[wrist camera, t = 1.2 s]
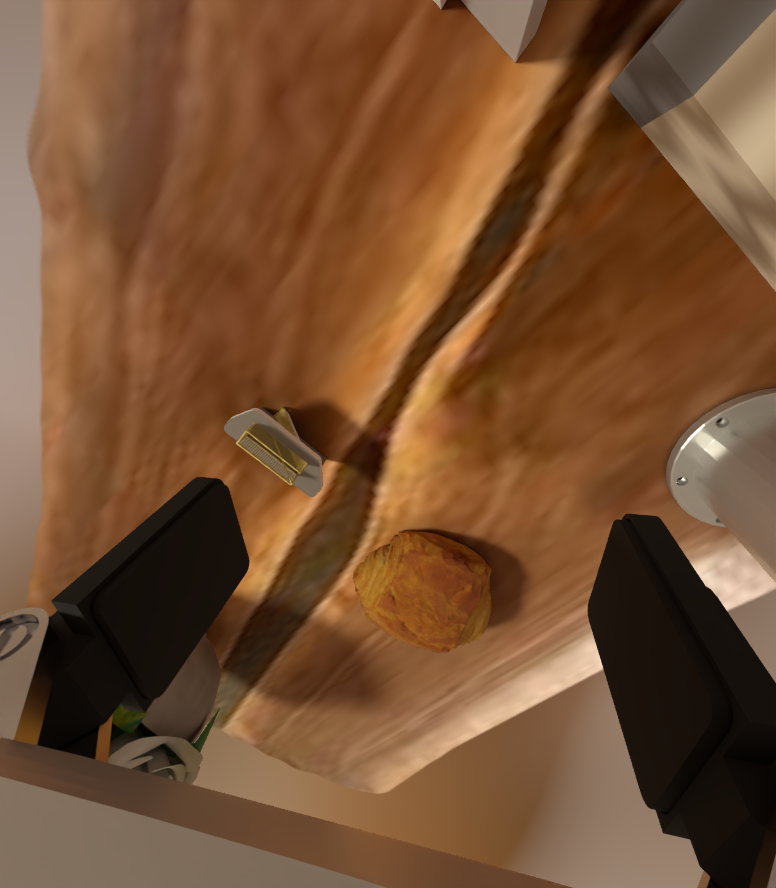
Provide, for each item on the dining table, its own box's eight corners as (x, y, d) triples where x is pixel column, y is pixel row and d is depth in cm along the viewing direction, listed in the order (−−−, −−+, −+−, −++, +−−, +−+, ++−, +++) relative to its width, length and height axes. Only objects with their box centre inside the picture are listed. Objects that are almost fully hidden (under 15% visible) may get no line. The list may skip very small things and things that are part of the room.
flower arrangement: (284, 670, 59) (183, 913, 38) (158, 666, 66) (14, 870, 45) (213, 552, 48) (17, 799, 27) (71, 562, 55) (-173, 766, 34)
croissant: (449, 616, 49) (454, 682, 43) (341, 575, 46) (329, 640, 39) (521, 555, 42) (541, 624, 35) (399, 501, 38) (395, 565, 32)
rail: (847, 256, 23) (955, 262, 18) (784, 301, 25) (866, 319, 20) (666, 17, 20) (736, -59, 15) (607, 87, 22) (651, 41, 17)
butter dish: (255, 316, 32) (211, 333, 27) (408, 447, 36) (398, 487, 30) (199, 406, 38) (153, 436, 32) (336, 512, 42) (316, 556, 36)
